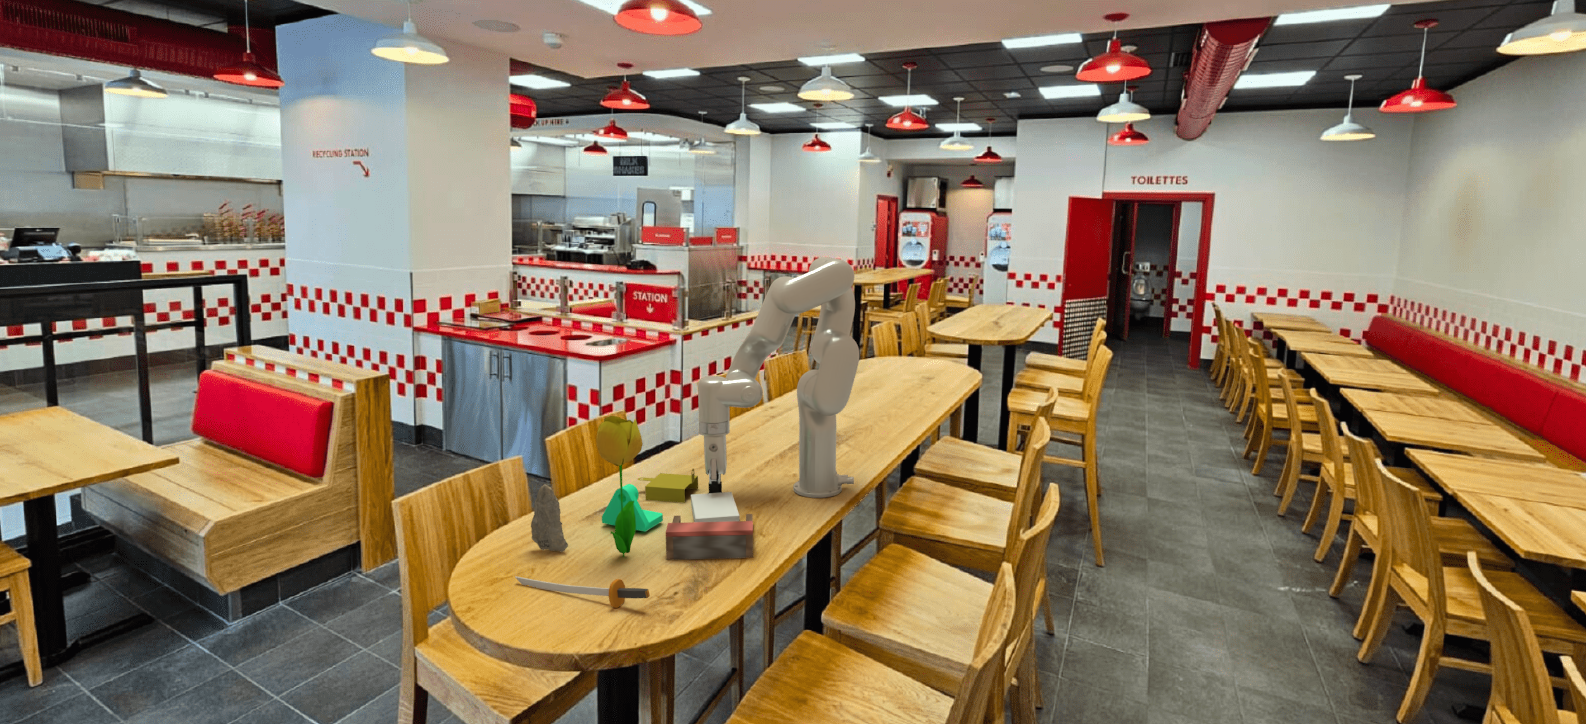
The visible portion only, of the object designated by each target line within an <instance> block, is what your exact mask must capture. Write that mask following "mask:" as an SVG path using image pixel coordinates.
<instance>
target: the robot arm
mask: <svg viewBox="0 0 1586 724" xmlns="http://www.w3.org/2000/svg"><path fill="white" fill-rule="evenodd" d="M809 265H810V266H809V268H808V272H806V273H804V274H801V275H799V276H796V277H792V276H788V275H787V276H785V275H784V276H780V277H778V278H776V279H774V281H773V282H772V283H771V284H770V286H769V288H768V291H767V293H766V295H765V297H764V300H763V302H762V305H761V307H760V308H759V310H758V314H757V316H756V318H755V320H754V323H753V325H752V327H751V329H750V331H749V333H748V334H747V335H746V337H745V338H744V340H743V342H742V344H741V345H740V346H739V348H738V349H737V351H736V353H735V354H734V356H733V359H732V362H731V364H730V367H729V368H728V371H727V373H726V376H725V377H724V376H718V375H716V376H715V375H709V376H704V377H702V378H701V379H699V381H698V383H697V384H698V385H697V390H698V391H697V392H698V395H697V396H698V402H697V403H698V434H699V435H701V436H703V449H704V451H703V454H704V457H703V458H704V467H705V471H704V472H705V474H706V475H707V476H708V493H721V492H723V481H722V476H725V475H726V473H727V465H728V462H727V436H726V435H729V434H730V433H731V430H730V408H731V407H732V408H742V409H743V408H744V409H746V408H747V409H748V408H752V407H755V406H756V405H758V404H759V403H760V402H761V400H762V398H763V388H762V385H761V384H760V383H759V381H758V380H756V378H757V375H758V373H759V371H760V369H761V367H762V365H763V364H764V362H765V360H766V359H767V358H768V357H769V356H770V355H771V354H772V353H774V352H776V351H777V350H778V349H779V348H780V347H781V346H782V345H783V344H784V343H785V340H786V337H787V335H788V332H789V331H790V328H791V326H792V324H793V321H794V319H795V317H796V315H800V314H803V313H805V312H806V313H807V312H808V311H811V310H813V309H815V308H818V307H819V306H820V310H819V314H818V315H819V317H818V320H817V324H816V327H815V332H814V334H813V335H814V336H813V338H812V343H811V347H810V353H811V356H812V357H813V360H814V361H815V362H816V363H818V364H819V367H818V369H810V370H808V371H806V372H804V373H803V374H802V375H801V377H800V378H799V379H798V382H797V387H796V399H797V407H798V424H799V426H798V427H799V428H798V429H799V431H798V432H799V433H798V434H799V435H798V440H799V441H798V445H799V446H798V448H799V449H798V450H799V451H798V452H799V453H798V454H799V455H798V457H799V458H798V459H799V460H798V468H799V469H798V471H799V472H798V478H799V479H798V480H797V481H795V483H794V484H793V486H792V490H793V491H794V492H795V494H796V495H799V496H802V497H806V498H813V499H815V498H816V499H821V498H822V499H823V498H829V497H830V498H831V497H834V496H837V495H838V494H840V493H841V492H842V489H843V488H842V487H843V486H842V485H854V484H855V477H854V476H849V475H848V474H839V473H838V471H837V467H836V466H837V415H838V414H840V413H841V412H842V411H843V410H844V409H845V407H846V406H847V404H848V402H849V399H850V397H851V394H852V389H853V386H854V382H855V378H856V375H857V370H858V367H859V364H860V363H859V362H860V349H859V346H858V344H857V341H855V339H854V338H853V337H851V336H850V335H851V331H852V326H853V322H854V317H855V312H856V311H855V309H856V300H855V295H854V294H855V293H854V291H853V288H852V286H853V284H854V282H855V270H854V269H853V267H852V266H851V265H850V263H849V262H847V261H845V260H844V259H840V258H835V257H834V258H833V257H828V256H824V257H823V256H822V257H817V258H815V259H814V260H812V262H811V264H809Z"/></svg>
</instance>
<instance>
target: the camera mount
mask: <svg viewBox="0 0 1586 724" xmlns="http://www.w3.org/2000/svg"><path fill="white" fill-rule="evenodd" d="M639 493H640V492H639V490H638V488H637V487H636V485H634V484H632V483H628V484H625V485H622V496H623V508H624V506H625V505H626V504H627V503H628V502H629V501H634V503H633V505H634V513H635V519H636V530H635V532H636V531H641V532H647V531H648V530H651V529H653V528H654V527H655V526H657V525H658V524H660V523H662V522H663V521H664V520H663V519H664V517H663V516H664V514H663V513H662V512H659V511H652V510H648V509H643V508H642V506H641V505H640V503H639V501H638V500H639V496H640V494H639ZM620 511H621V491H620V487H619V488H617V489H616V490H615V492H614V493H613V495H612V497H611V499H610V501H609V503H608V504H607V506H606V508H605V510H604V512H603V514H602V516H601V523H602V524H605V525H611V526H615V521H616V518H617V516H618V514H619V512H620Z"/></svg>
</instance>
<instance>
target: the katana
mask: <svg viewBox="0 0 1586 724" xmlns="http://www.w3.org/2000/svg"><path fill="white" fill-rule="evenodd" d="M514 577H515V579H516V580H517V581H518V582H519V584H521V585H523V586H526V585H529V586H528V587H530V586H532V587H531V588H535V587H536V588H535V589H541V590H546V591H552V592H559V593H567V594H575V595H576V594H577V595H578V594H579V595H590V596H591V595H593V596H603V597H608V600H609V604H610V606H611V607H612V608H614V609H618V608H620V607H621V606H622V605H623V604H624V603H625V601H626V599H649V597H650V596H651V595H650V590H649V589H648V588H640V587H626V585H625V583H624V581H623V579H621V578H620V579H619V578H615V579H614V580H612V582H611V583H610V585H609V588H608V587H595V586H582V585H569V584H564V583H563V584H562V583H557V582H556V583H555V582H550V581H548V582H547V581H545V580H544V581H542V580H537V579H530V578H526V577H521V576H516V575H515V576H514ZM621 604H622V605H621ZM620 605H621V606H620ZM619 606H620V607H619Z"/></svg>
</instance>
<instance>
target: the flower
mask: <svg viewBox="0 0 1586 724" xmlns="http://www.w3.org/2000/svg"><path fill="white" fill-rule="evenodd" d="M596 447H597V451H598V454H599V456H600V457H601V459H603V460H605V461H606V462H608V463H611V464H612V465H614V466H617V467H618V468H619V469H618V471H619V485H620V487H619V488H620V491H621V511H620V512H619V514H618V516H617V518H616V521H615V525H614V531H612V530H611V531H610V535H611V534H612V537H613V540H614V545H615V548H616V549H617V551H618V552H619V553H621V554H622V557H623V558H625V556H626V555H625V554H627V553H628V554H629V553H631V547H632V543H633V539H634V537H635V534H636V531H637V530H636V519H635V513H634V505H633V503H634V501H629V502H628V503H627V504H626V505H625V506H624V508H623V496H622V487H623V466H624V465H625V464H627V463H629V462H631V461H633V460H634V459H635V458H636V457H637V456H638V455H639V454H640V453H641V452H642V447H643V439H642V435H641V432H640V429H639V425H638V422H637V419H636V418H634V420H631V419H624V418H621V417H620V416H616V415H610V416H607V417H605V418H604V419H603V421H602V422H601V423H600V424H599V425H598V428H597V434H596ZM635 530H636V531H635Z"/></svg>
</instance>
